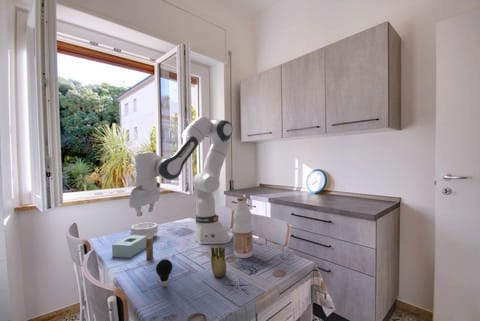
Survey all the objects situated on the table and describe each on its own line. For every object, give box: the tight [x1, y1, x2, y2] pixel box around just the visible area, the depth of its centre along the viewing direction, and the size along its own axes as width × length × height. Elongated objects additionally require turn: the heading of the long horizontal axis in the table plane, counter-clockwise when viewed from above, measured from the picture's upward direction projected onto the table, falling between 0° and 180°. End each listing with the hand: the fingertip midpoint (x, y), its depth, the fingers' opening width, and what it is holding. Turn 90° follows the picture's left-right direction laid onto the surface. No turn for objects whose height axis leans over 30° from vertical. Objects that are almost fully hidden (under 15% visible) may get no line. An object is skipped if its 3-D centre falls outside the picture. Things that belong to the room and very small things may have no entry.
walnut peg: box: [145, 237, 154, 261], centre depth 108 cm, size 3×3×10 cm
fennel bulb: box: [210, 245, 227, 278], centre depth 91 cm, size 6×5×12 cm
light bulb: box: [155, 258, 173, 288], centre depth 84 cm, size 6×6×10 cm
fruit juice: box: [232, 196, 254, 259], centre depth 110 cm, size 9×9×28 cm
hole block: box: [111, 234, 147, 259], centre depth 117 cm, size 10×14×6 cm
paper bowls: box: [130, 222, 159, 238], centre depth 137 cm, size 15×15×8 cm
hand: (145, 213), depth 108 cm, fingers open, 8 cm apart
